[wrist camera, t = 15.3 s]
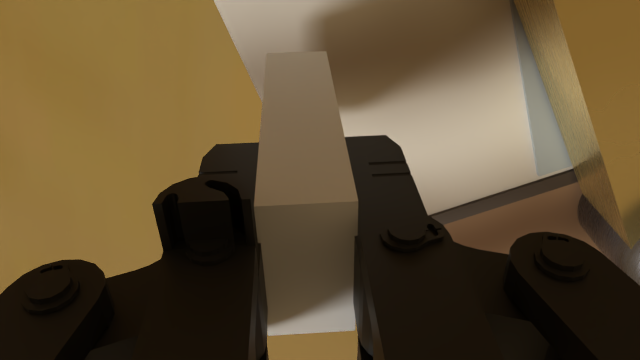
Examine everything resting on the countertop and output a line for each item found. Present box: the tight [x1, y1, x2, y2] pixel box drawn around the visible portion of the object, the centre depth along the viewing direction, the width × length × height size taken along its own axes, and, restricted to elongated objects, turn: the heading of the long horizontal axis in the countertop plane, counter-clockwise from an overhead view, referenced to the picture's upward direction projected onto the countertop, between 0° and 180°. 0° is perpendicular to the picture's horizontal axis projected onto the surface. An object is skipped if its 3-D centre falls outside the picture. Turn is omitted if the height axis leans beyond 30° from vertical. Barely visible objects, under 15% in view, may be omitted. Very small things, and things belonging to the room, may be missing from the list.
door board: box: [214, 0, 603, 254], centre depth 17 cm, size 28×16×5 cm, turn 20°
